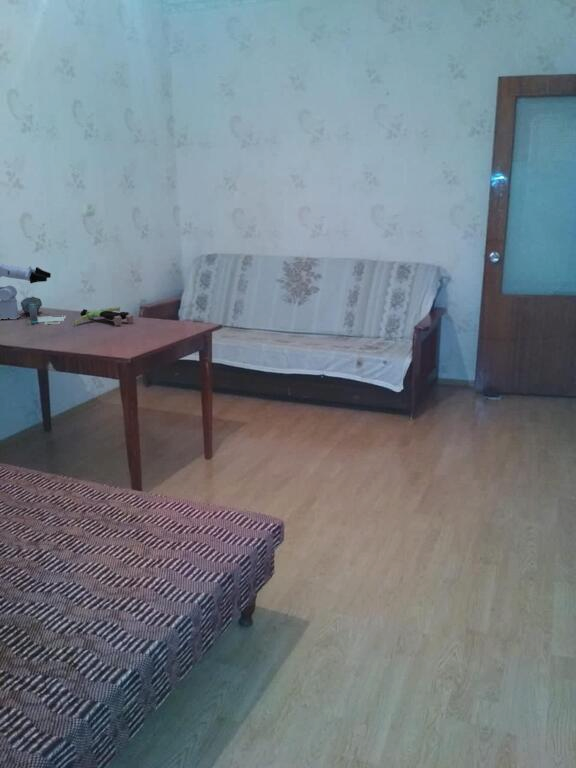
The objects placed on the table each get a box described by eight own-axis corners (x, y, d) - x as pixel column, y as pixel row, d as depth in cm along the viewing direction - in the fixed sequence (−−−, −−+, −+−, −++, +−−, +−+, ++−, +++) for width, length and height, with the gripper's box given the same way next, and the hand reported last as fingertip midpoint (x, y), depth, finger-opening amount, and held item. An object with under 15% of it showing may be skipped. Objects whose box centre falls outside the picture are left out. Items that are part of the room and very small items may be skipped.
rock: (42, 310, 330) (22, 307, 327) (43, 297, 325) (22, 294, 322) (38, 326, 317) (17, 323, 314) (39, 312, 313) (17, 309, 310)
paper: (33, 322, 300) (33, 322, 299) (36, 317, 312) (36, 316, 311) (63, 321, 303) (63, 320, 303) (65, 316, 315) (65, 315, 315)
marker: (30, 324, 295) (28, 304, 292) (31, 323, 298) (28, 303, 295) (37, 324, 295) (35, 304, 293) (38, 323, 298) (36, 303, 296)
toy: (150, 316, 308) (107, 313, 323) (147, 303, 305) (104, 300, 320) (103, 336, 284) (59, 332, 299) (100, 322, 281) (55, 318, 296)
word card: (43, 324, 295) (43, 324, 295) (45, 322, 299) (44, 321, 299) (59, 324, 297) (59, 323, 296) (60, 322, 301) (60, 321, 301)
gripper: (15, 268, 295) (45, 272, 297) (23, 261, 308) (52, 266, 311) (15, 282, 298) (44, 286, 300) (23, 275, 311) (51, 279, 313)
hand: (48, 277), depth 305 cm, fingers open, 7 cm apart
